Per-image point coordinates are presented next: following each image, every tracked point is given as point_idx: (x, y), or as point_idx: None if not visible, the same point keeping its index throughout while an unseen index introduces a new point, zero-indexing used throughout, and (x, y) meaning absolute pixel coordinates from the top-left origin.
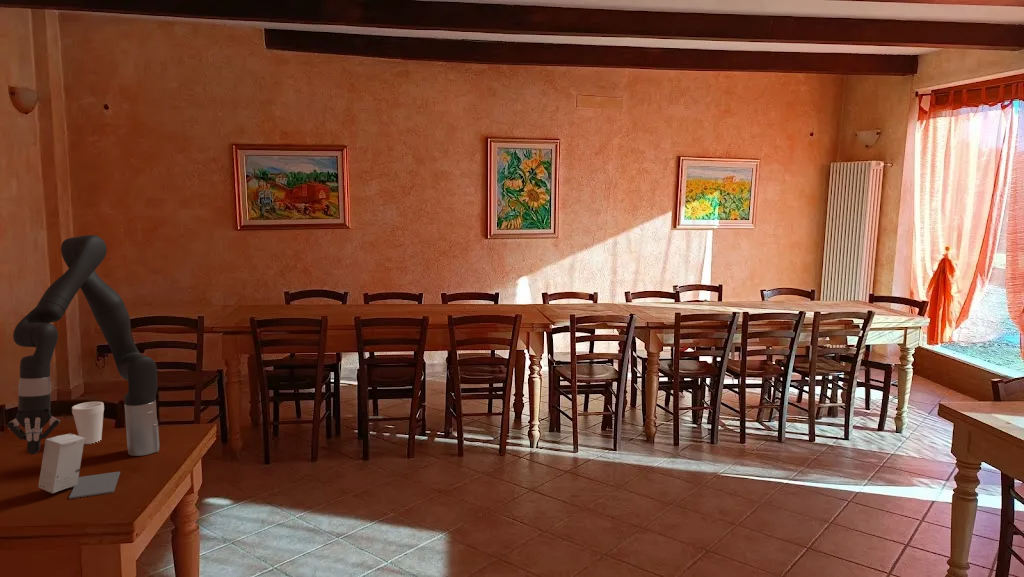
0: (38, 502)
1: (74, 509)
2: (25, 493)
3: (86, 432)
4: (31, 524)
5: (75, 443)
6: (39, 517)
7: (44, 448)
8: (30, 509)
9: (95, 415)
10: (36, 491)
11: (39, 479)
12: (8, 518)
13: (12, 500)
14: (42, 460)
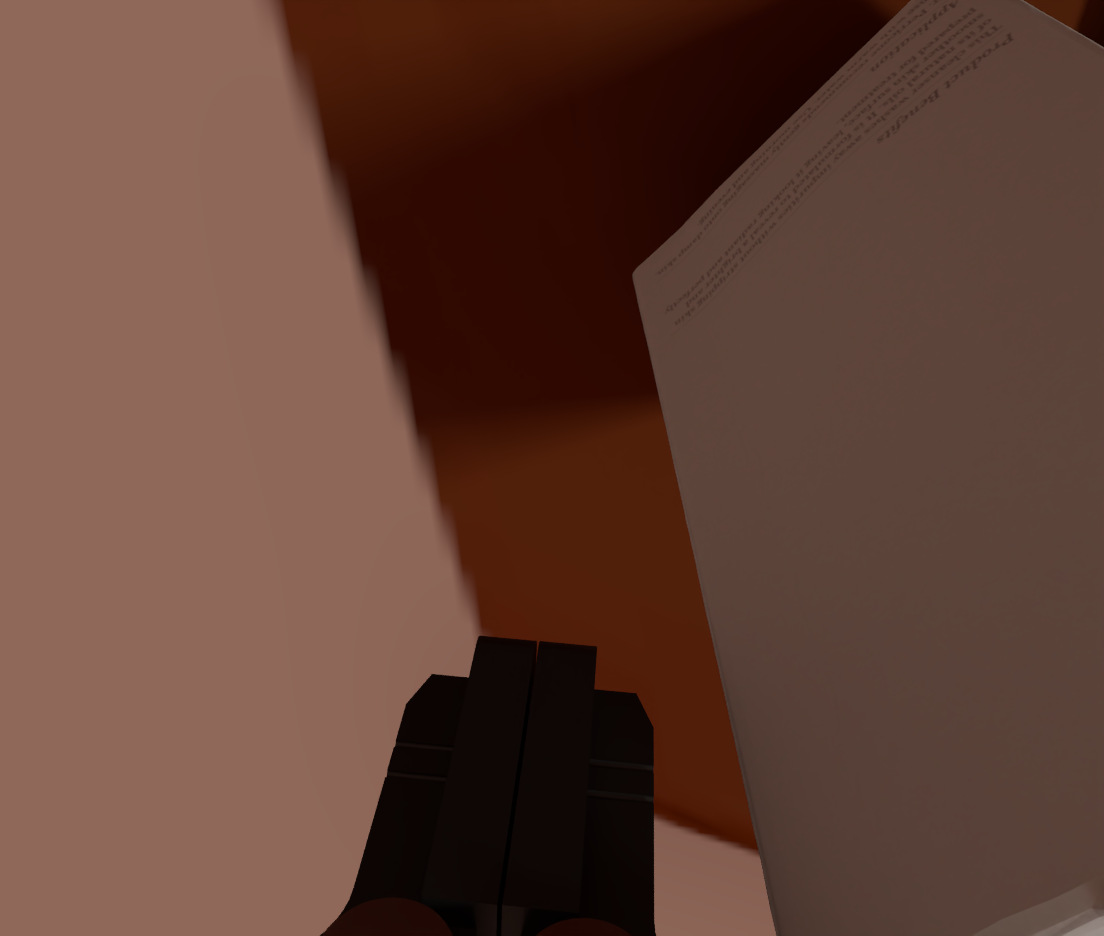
0: (662, 428)
1: None
2: (469, 62)
3: None
4: (663, 789)
5: None
6: (704, 720)
7: (746, 767)
8: (613, 551)
9: None
10: (592, 51)
11: (646, 336)
12: (478, 632)
13: (384, 238)
14: (694, 552)
